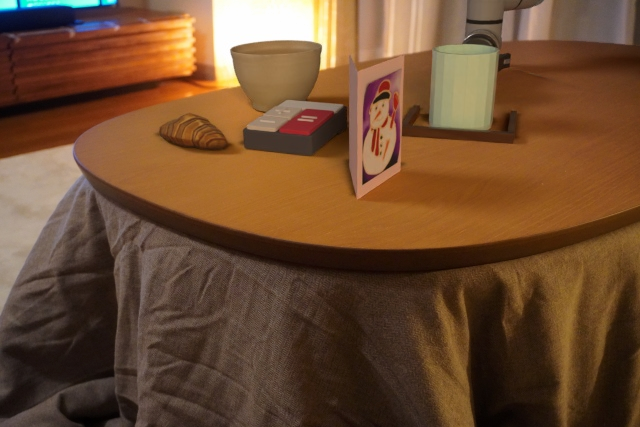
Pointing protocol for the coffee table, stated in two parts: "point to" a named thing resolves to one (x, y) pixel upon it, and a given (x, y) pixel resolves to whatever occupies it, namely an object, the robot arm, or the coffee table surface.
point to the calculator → (296, 127)
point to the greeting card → (375, 123)
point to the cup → (463, 86)
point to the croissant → (193, 133)
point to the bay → (457, 130)
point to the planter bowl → (276, 70)
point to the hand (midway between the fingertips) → (467, 76)
